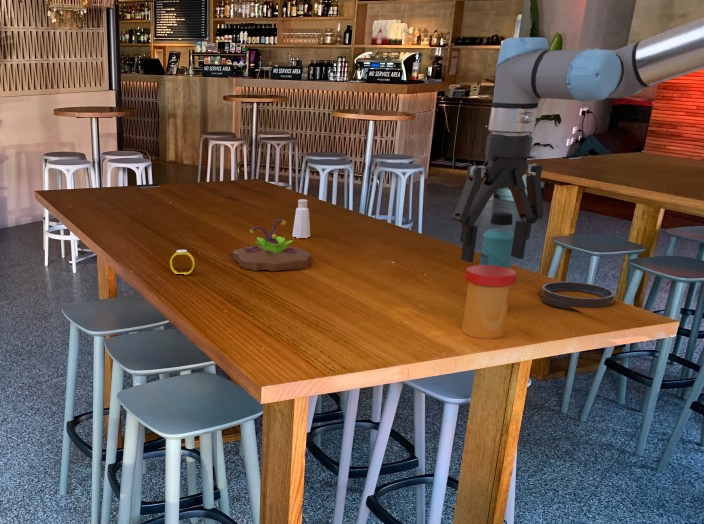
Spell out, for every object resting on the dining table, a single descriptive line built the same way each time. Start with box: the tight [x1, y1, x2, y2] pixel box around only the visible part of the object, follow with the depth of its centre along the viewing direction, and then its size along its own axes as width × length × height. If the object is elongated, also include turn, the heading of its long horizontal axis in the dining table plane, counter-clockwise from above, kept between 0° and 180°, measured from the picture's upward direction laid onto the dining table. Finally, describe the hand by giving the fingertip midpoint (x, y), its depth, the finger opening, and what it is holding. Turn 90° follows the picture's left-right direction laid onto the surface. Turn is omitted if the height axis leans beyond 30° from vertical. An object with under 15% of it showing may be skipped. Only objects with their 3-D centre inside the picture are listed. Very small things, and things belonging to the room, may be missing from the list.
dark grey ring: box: [539, 281, 616, 312], centre depth 170 cm, size 14×14×3 cm
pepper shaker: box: [291, 198, 311, 239], centre depth 235 cm, size 5×5×11 cm
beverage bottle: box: [478, 211, 514, 269], centre depth 163 cm, size 6×7×20 cm
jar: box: [461, 281, 512, 340], centre depth 150 cm, size 8×8×12 cm
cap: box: [464, 264, 517, 287], centre depth 148 cm, size 9×9×2 cm
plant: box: [232, 218, 312, 272], centre depth 205 cm, size 20×20×11 cm
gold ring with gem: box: [169, 249, 196, 276], centre depth 194 cm, size 6×3×6 cm, turn 83°
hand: (492, 258), depth 147 cm, fingers open, 10 cm apart
